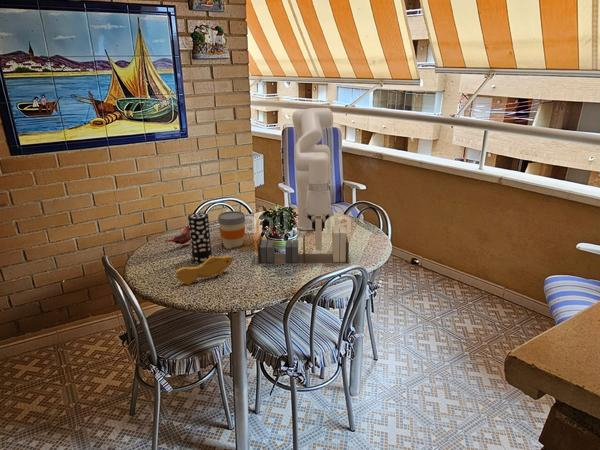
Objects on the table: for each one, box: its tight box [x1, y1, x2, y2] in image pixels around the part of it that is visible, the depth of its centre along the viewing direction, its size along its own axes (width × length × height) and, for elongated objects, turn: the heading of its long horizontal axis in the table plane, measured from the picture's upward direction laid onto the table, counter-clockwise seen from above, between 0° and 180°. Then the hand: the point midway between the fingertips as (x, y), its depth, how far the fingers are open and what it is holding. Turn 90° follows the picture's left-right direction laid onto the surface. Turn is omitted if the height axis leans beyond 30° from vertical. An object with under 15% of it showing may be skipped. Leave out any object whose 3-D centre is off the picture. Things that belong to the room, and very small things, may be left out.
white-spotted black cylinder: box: [187, 212, 213, 264], centre depth 175 cm, size 8×8×20 cm
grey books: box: [260, 239, 299, 263], centre depth 173 cm, size 8×16×7 cm, turn 88°
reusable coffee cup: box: [217, 210, 246, 250], centre depth 190 cm, size 13×13×15 cm
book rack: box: [256, 233, 350, 265], centre depth 173 cm, size 10×38×10 cm, turn 88°
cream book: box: [314, 215, 323, 251], centre depth 170 cm, size 8×2×13 cm, turn 178°
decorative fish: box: [175, 254, 233, 285], centre depth 159 cm, size 22×3×10 cm, turn 118°
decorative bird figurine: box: [164, 224, 191, 248], centre depth 190 cm, size 3×18×10 cm, turn 140°
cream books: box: [331, 225, 347, 262], centre depth 171 cm, size 8×5×13 cm, turn 178°
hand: (318, 229), depth 169 cm, fingers closed on cream book, 2 cm apart
